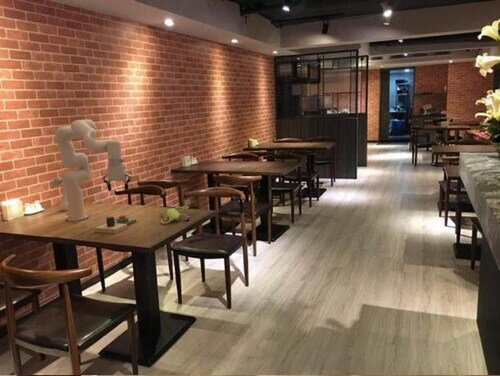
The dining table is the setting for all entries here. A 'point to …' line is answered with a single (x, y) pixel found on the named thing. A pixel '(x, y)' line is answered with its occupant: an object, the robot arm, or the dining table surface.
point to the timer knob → (110, 221)
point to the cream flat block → (111, 228)
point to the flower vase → (64, 202)
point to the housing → (125, 221)
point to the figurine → (174, 214)
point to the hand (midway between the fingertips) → (118, 190)
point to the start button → (122, 217)
